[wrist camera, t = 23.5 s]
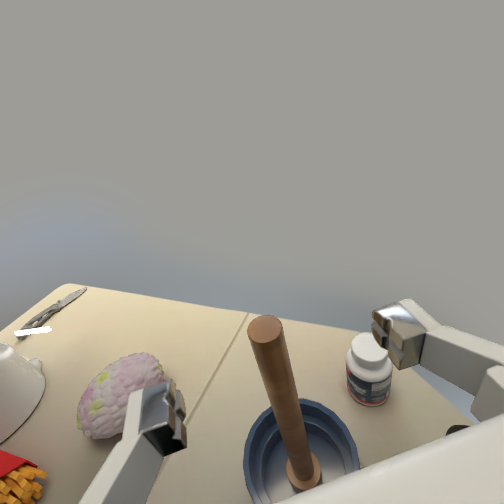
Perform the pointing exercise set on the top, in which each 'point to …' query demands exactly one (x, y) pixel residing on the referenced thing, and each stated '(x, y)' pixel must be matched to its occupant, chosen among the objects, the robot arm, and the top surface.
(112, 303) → the top surface
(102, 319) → the top surface
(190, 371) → the top surface
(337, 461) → the bowl
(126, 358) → the decorative item
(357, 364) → the pill bottle
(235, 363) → the top surface
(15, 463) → the french fries
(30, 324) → the knife
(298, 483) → the muddler
